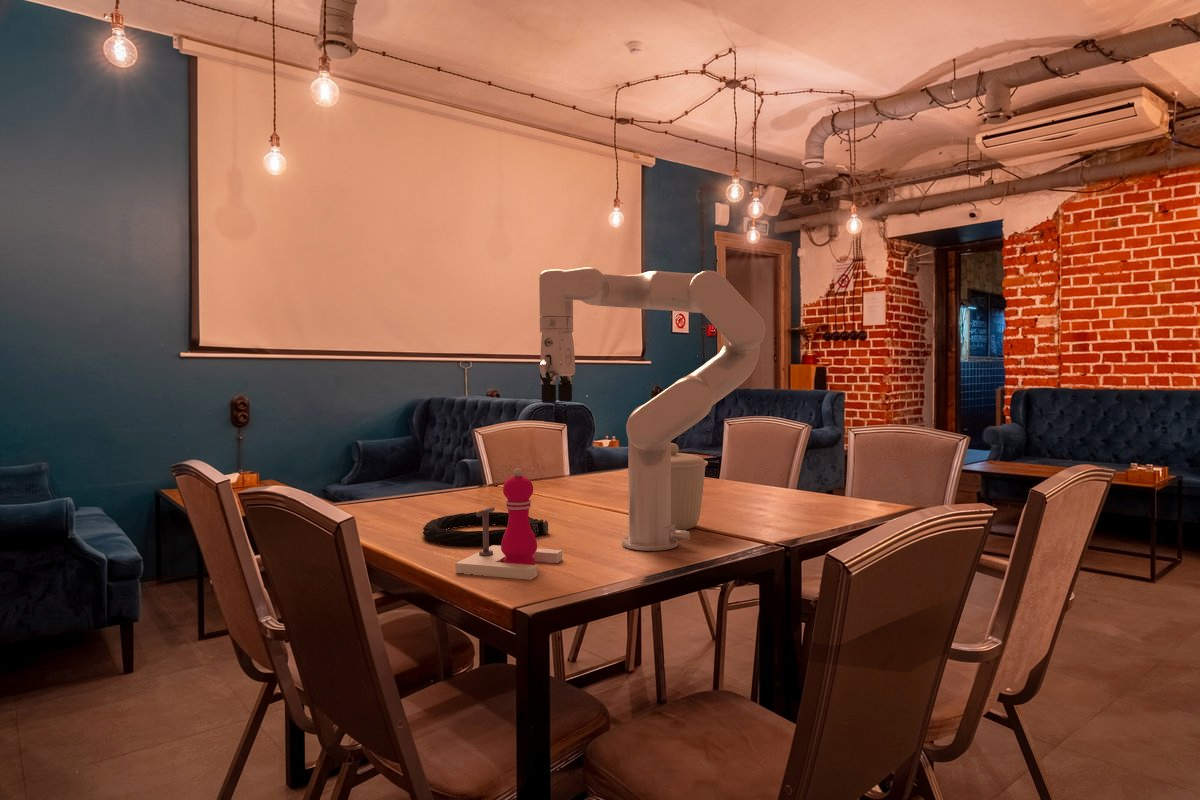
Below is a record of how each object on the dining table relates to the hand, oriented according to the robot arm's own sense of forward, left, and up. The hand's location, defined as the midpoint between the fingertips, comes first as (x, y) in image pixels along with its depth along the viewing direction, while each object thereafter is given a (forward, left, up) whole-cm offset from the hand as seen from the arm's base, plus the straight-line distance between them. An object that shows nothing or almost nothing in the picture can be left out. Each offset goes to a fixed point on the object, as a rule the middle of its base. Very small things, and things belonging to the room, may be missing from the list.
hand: (557, 401), depth 171 cm
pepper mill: (0, +22, -32) cm, 39 cm away
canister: (-20, -26, -32) cm, 46 cm away
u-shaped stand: (+2, +21, -32) cm, 39 cm away
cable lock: (+21, -5, -33) cm, 39 cm away
